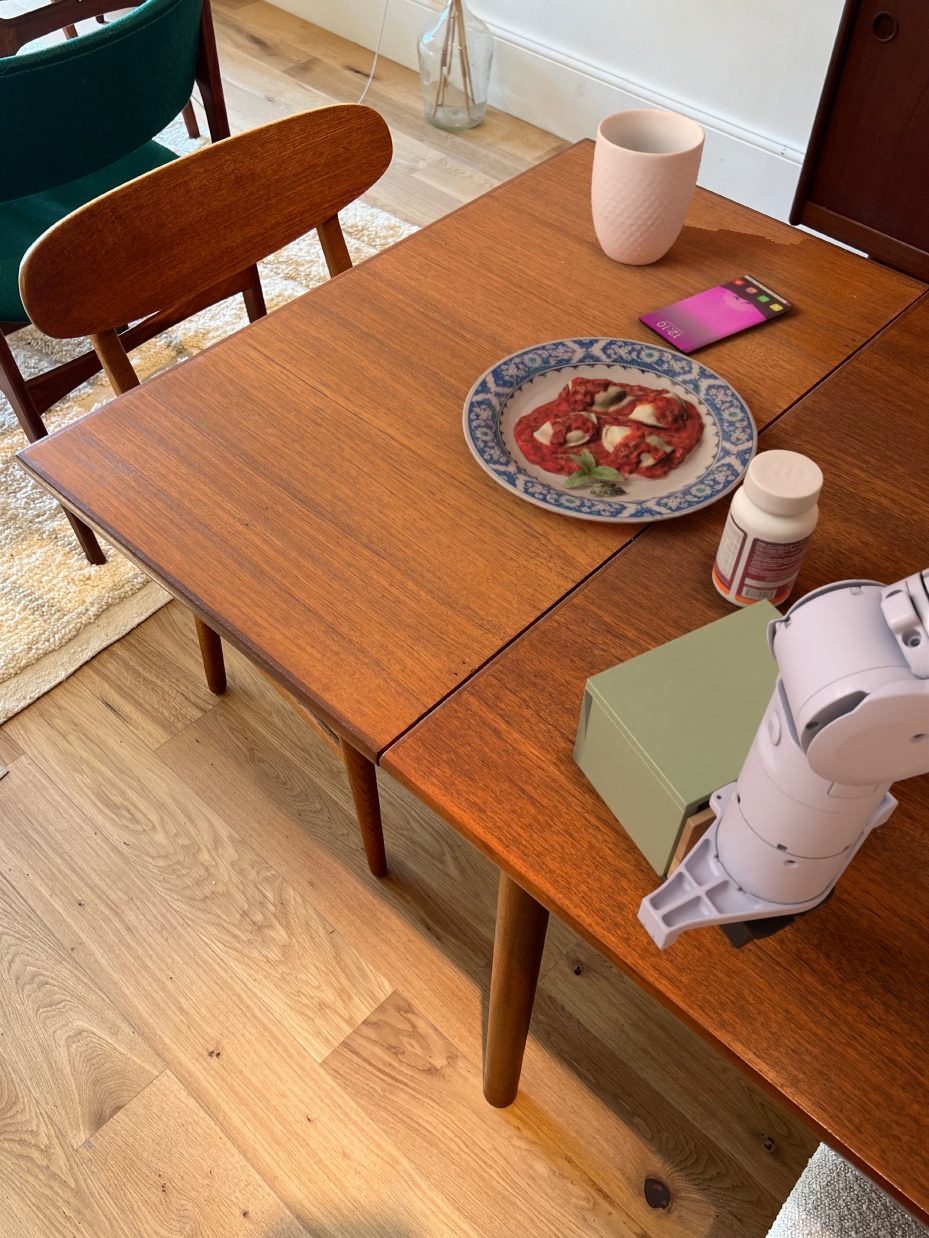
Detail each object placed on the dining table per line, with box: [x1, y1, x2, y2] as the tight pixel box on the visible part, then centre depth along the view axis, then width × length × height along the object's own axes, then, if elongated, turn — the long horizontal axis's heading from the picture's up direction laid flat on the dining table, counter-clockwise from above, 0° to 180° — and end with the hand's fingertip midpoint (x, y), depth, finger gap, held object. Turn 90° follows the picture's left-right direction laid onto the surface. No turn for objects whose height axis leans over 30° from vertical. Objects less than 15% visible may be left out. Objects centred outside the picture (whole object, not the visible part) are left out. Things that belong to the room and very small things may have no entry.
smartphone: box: [638, 274, 795, 355], centre depth 102 cm, size 7×15×1 cm, turn 122°
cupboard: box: [572, 599, 785, 884], centre depth 63 cm, size 11×14×9 cm
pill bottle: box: [712, 449, 824, 609], centre depth 73 cm, size 6×6×11 cm
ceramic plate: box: [461, 336, 758, 524], centre depth 88 cm, size 26×26×3 cm
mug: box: [590, 108, 706, 266], centre depth 107 cm, size 15×11×13 cm
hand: (734, 928), depth 55 cm, fingers closed
